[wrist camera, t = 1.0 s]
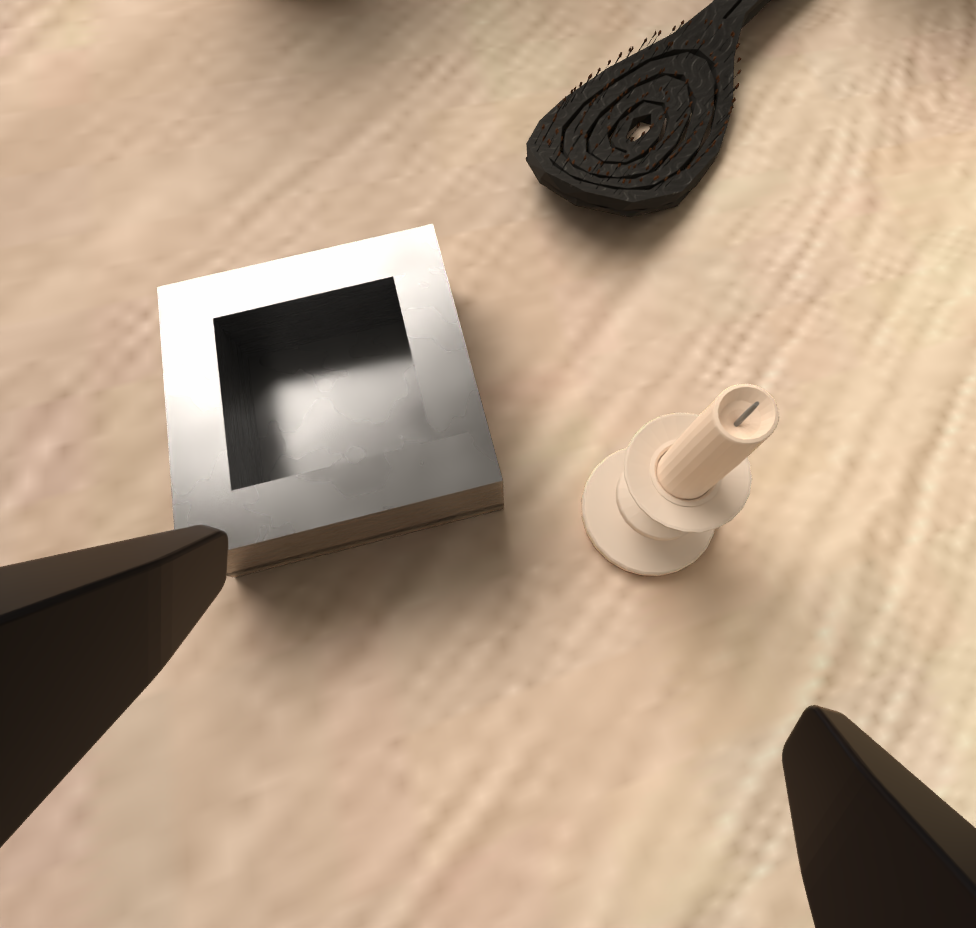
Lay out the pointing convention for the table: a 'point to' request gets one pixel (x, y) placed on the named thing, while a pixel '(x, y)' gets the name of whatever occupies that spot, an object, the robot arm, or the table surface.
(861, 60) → the table surface
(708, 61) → the hairbrush
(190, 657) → the table surface
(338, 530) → the socket block
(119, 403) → the table surface
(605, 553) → the candle
